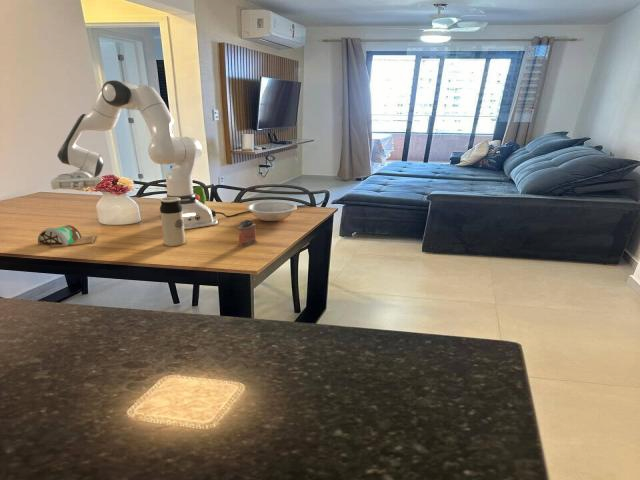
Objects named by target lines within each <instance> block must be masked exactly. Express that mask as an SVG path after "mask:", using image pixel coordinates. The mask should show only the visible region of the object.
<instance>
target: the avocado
mask: <svg viewBox="0 0 640 480" xmlns="http://www.w3.org/2000/svg"><path fill="white" fill-rule="evenodd" d="M193 193H196V194H197V195H199V196H200V200H198V201H199V202H201V203H202V204H204V205H206V201H207V196H206V193H205V190H204V188H203V187H202V186H201V185H195V186H193Z"/></svg>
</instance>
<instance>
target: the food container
mask: <svg viewBox="0 0 640 480" xmlns="http://www.w3.org/2000/svg"><path fill="white" fill-rule="evenodd" d="M81 237H82V235H81V233H80V231H79V230H78V229H77V228H76V227H75V226H73V225H71V224H70V225H69V224H68V225H67V224H66V225H63V226H58V227H48V228H45V229H44V230H42V231H41V232H40V233H39V235H38V237H37V244H48V245H49V244H50V245H52V244H60V245H63V246H62V247H66V245H68V246H70V245H69V243H71V242H73V241H76V240H78V239H80V238H81Z"/></svg>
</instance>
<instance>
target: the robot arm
mask: <svg viewBox="0 0 640 480" xmlns="http://www.w3.org/2000/svg"><path fill="white" fill-rule="evenodd" d="M101 87H102V88H100V90H98V93H97V95H96V96H95V99H94V101H93V104H92V106H91V109H90V111H89V112H87V113H82V114H81V115H80V116H79V117H78V118H77V119H76V122H75V123H74V125H73V126H72V128H71V130H70V131H69V134H68V135H67V137H66V138H65V140H64V142H63V143H62V144H61V145H60V147H59V148H58V150H57V155H56V156H57V158H58V160H59V161H60V162H61V163H62V164H65V165H68V166H71V167H75V168H78V169H77V170H76V171H73V172H69V173H62V174H58V175H57V177H56V176H55V177H54V178H53V179H51V180H50V185H51V186H50V187H51V189H52V190H74V191H80V192H83V191H84V192H85V190H83V188H88V187H90V188H97V187H96V185H97V184H98V183H100V182H101V181H102V180H103V179H104V178H103V177H102V176H100V174H101V172H102V171H103V168H104V158H103V156H102V155H101V154H100V153H98V152H95V151H93V150H90V149H86V148H84V147H81V146H79V145H78V144H77V142H78V141H79V139H80V137H81V135H82V133H83V132H85V131H98V132H105V131H110V130H113V129H114V128H115V127H116V125H117V123H118V122H119V119H120V116H121V112H122V110H123V109H125V110H130V111H131V110H133V111H139V113H140V115H141V116H142V118H143V121H144V122H145V124H146V126H147V128H148V129H149V132H150V133H149V134H150V137H151V139H150V143H149V145H148V148H147V153H148V156H149V158H150V160H151V161H152V163H153V162H154V164H157V165H172V167H171V169H170V171H169V173H167V175H166V177H165V184H166V192H167V194H166V197H179V198H180V199H181V200H180V204H181V206H182V212H183V222H184V230H189V229H197V228H203V227H210V226H216V225H218V224H219V222H218V218H217V217H216V216H217V215H216V214H219V215H223V216H224V217H225V218H232V217H236V216H239V215H242V214H247V213H252V212H251V211H249V210H245V211H241V212H237V213H234V214H231V215H228V214H225V213H224V212H220V211H215V210H213V209H210V207H209V206H207V205H206V204H205V205H204V204H202V203H201V202H199V201H198V200H200V196H199V195H197V194H196V193H193V189H194V184H193V183H194V182H193V174H194V169H195V165H196V163H197V161H198V160H199V158H200V157H201V155H202V153H203V151H202V150H203V149H202V148H203V147H202V145H201V142H200V141H199V140H198V139H197V138H194V137H192V136H191V137H189V136H174V134H173V131H172V129H173V128H174V127H175V119H174V117H173V115H172V114H171V112H170V109H169V108H168V107H167V104H166V103H165V101H164V100H163V98H162V97H161V95H160V94H159V93H158V91H157V90H156V88H155V87H153V86H151V85H148V84H143V85H138V84H134V83H131V82H128V81H127V82H126V81H119V80H117V79H116V80H115V79H114V80H108V81H105V82H104V83H103V85H102V86H101ZM102 178H103V179H102ZM88 189H89V188H88ZM323 202H324V203H327V201H326V200H324V199H323V200H321V201H320V202H318V203H314V204H313V203H312V204H300V205H296V206H297V208H301V207H312V206H313V207H314V206H319V205H321V204H323Z"/></svg>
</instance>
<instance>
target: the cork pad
mask: <svg viewBox="0 0 640 480" xmlns="http://www.w3.org/2000/svg"><path fill="white" fill-rule="evenodd" d="M95 239H96V235H87V236H81V238H80V239H78V240H76V241H73V242H71V243H69V245H66V246H76V245H77V246H78V245H88V244H94V241H95ZM49 246H50V248H56V247H64V246H63V245H60V244H50V245H49ZM66 246H65V247H66Z"/></svg>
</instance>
